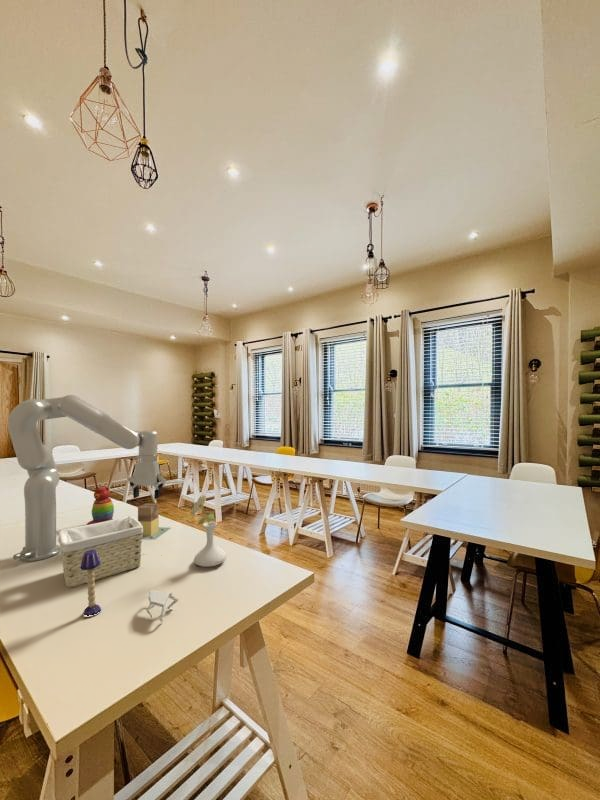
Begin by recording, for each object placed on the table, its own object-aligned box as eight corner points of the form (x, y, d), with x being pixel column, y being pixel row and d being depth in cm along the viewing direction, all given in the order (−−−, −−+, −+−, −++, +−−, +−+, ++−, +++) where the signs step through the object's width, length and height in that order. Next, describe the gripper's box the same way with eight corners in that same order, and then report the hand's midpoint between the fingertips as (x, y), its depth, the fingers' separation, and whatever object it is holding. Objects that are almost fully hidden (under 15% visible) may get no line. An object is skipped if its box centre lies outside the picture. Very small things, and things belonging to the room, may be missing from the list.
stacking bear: (84, 526, 161) (84, 489, 161) (102, 519, 170) (102, 484, 171) (102, 528, 158) (102, 490, 158) (119, 521, 167) (119, 485, 168)
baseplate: (154, 542, 141) (154, 538, 141) (123, 541, 142) (123, 537, 142) (171, 529, 155) (171, 527, 155) (142, 529, 156) (142, 526, 156)
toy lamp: (78, 620, 89) (78, 556, 89) (82, 610, 93) (82, 549, 94) (99, 615, 91) (99, 552, 91) (102, 606, 95) (102, 546, 96)
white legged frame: (186, 612, 92) (186, 593, 92) (158, 629, 85) (158, 609, 85) (159, 599, 99) (159, 581, 99) (131, 613, 92) (131, 595, 92)
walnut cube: (151, 521, 145) (150, 507, 145) (137, 521, 146) (137, 507, 146) (158, 517, 151) (158, 503, 151) (145, 516, 152) (145, 503, 152)
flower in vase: (212, 553, 129) (211, 487, 130) (233, 560, 122) (232, 491, 123) (183, 566, 118) (182, 494, 119) (204, 575, 112) (203, 499, 112)
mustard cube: (151, 535, 145) (151, 521, 145) (138, 535, 146) (138, 521, 146) (158, 530, 151) (158, 517, 151) (146, 530, 152) (145, 516, 152)
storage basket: (61, 592, 103) (61, 543, 103) (57, 573, 115) (57, 529, 116) (145, 567, 118) (144, 525, 118) (133, 553, 131) (133, 514, 131)
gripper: (124, 459, 146) (122, 499, 146) (161, 460, 144) (160, 500, 144) (134, 457, 154) (133, 495, 153) (170, 458, 152) (169, 496, 151)
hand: (146, 497), depth 149 cm, fingers open, 9 cm apart
